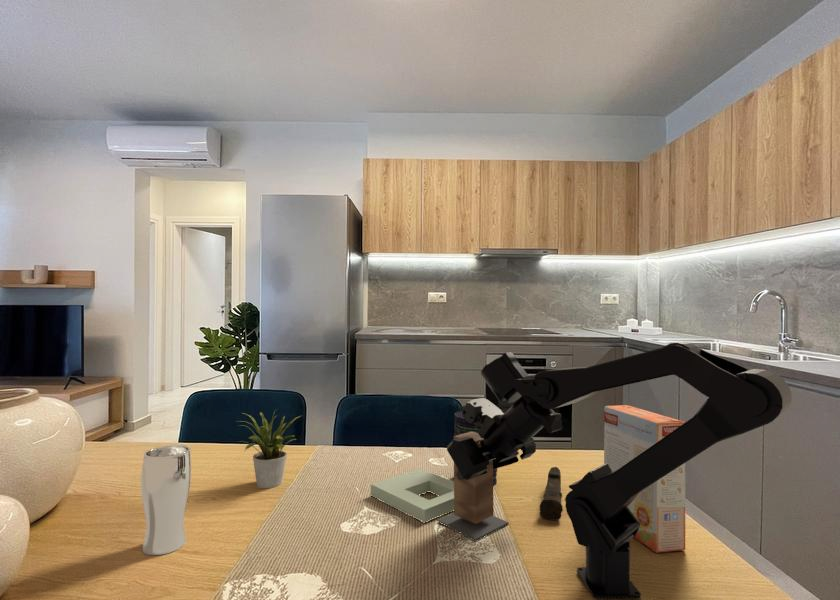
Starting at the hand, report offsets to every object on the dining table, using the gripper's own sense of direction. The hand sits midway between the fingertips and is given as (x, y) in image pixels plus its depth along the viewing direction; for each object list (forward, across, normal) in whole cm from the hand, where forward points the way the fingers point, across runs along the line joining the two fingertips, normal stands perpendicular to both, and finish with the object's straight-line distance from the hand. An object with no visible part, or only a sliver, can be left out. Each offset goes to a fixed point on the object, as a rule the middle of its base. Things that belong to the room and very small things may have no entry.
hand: (468, 474), depth 82 cm
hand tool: (+3, -20, +10) cm, 22 cm away
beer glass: (+25, +43, -13) cm, 51 cm away
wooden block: (+4, 0, +6) cm, 7 cm away
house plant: (+35, +20, -23) cm, 47 cm away
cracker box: (-10, -20, +22) cm, 32 cm away
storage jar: (+14, -16, -2) cm, 22 cm away
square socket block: (+15, 0, -3) cm, 15 cm away
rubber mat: (+5, 0, +7) cm, 9 cm away
